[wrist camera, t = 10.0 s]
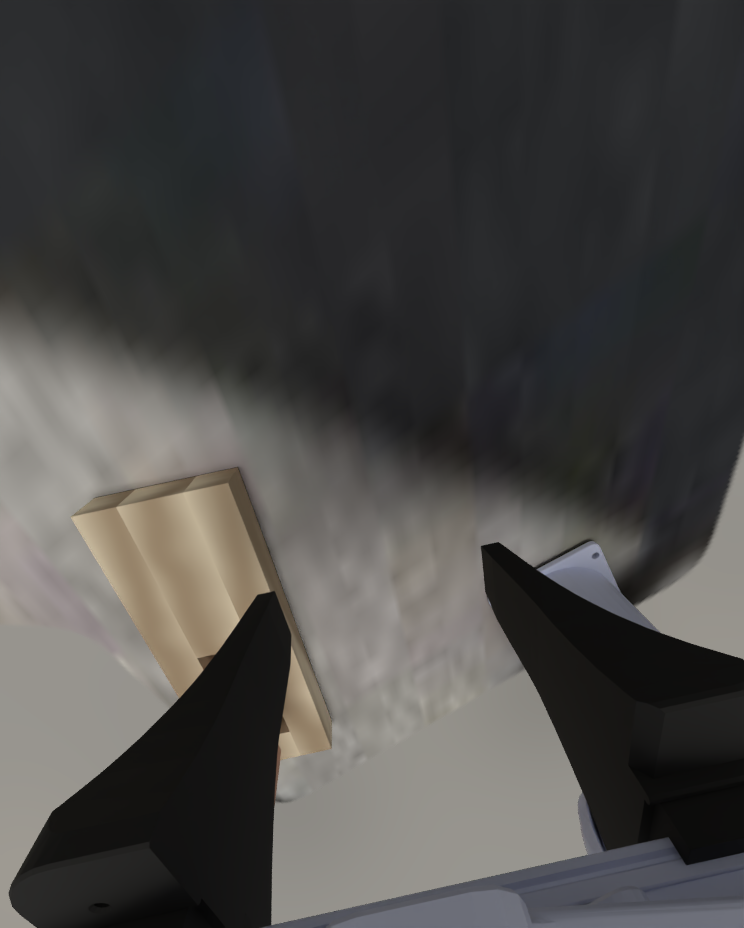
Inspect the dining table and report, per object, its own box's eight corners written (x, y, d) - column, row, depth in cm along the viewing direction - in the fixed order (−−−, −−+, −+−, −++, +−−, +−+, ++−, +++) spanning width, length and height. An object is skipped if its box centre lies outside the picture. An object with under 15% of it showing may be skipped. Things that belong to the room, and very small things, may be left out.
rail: (237, 467, 21) (228, 482, 19) (331, 721, 29) (331, 748, 28) (94, 498, 21) (70, 517, 19) (230, 743, 29) (223, 772, 27)
